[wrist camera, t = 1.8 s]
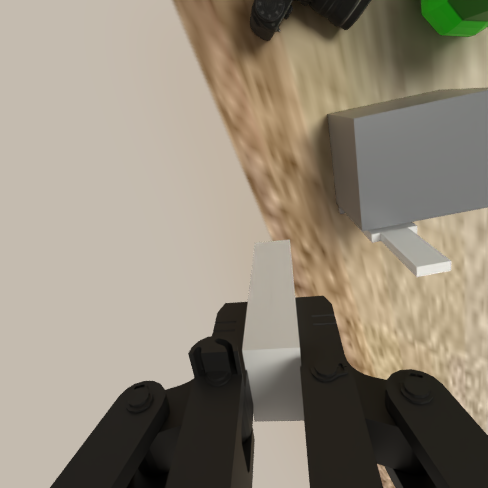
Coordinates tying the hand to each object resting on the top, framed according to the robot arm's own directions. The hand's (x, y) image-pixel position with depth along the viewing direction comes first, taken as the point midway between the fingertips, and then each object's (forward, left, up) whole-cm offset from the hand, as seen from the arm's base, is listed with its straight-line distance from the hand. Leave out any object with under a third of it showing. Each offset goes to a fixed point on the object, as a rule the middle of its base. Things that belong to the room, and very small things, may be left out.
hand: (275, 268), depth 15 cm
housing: (+4, +19, -33) cm, 38 cm away
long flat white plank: (+10, +14, -32) cm, 36 cm away
